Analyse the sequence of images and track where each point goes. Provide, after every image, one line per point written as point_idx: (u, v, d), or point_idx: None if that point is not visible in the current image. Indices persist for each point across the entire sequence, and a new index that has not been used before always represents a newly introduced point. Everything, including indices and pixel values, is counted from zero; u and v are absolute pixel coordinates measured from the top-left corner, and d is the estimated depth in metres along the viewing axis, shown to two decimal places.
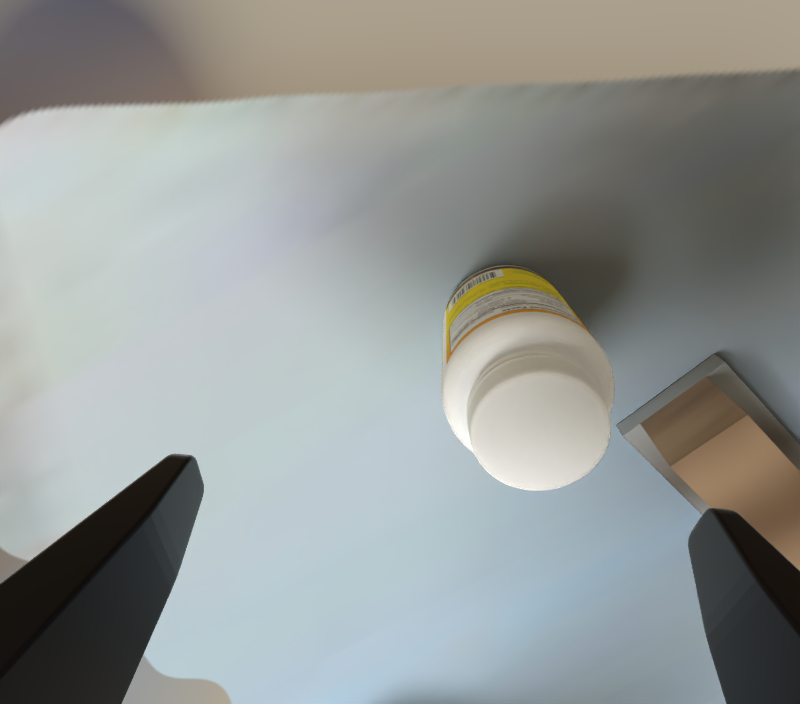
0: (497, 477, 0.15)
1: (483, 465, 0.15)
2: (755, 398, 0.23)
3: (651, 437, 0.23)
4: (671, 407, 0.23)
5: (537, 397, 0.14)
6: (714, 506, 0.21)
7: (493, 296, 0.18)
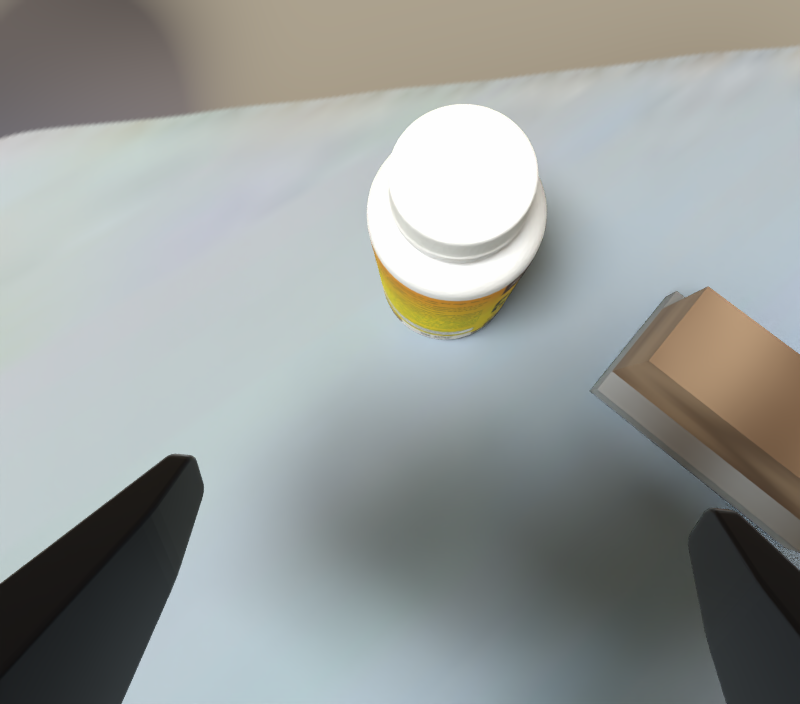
0: (424, 229, 0.13)
1: (407, 216, 0.13)
2: None
3: (625, 366, 0.20)
4: (637, 342, 0.21)
5: (453, 129, 0.13)
6: (718, 410, 0.18)
7: None
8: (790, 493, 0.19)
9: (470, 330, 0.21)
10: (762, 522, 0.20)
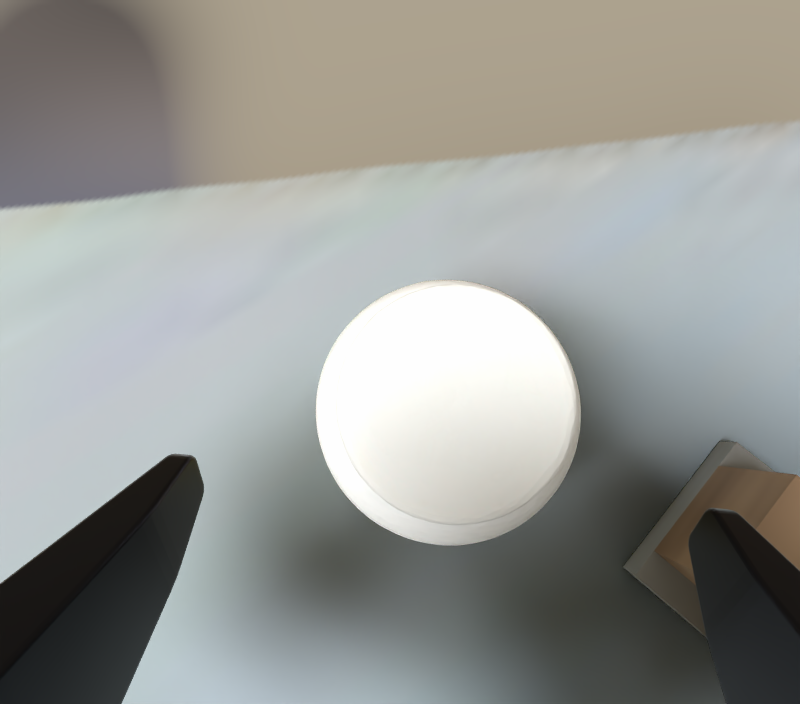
0: (393, 499, 0.08)
1: (364, 475, 0.08)
2: None
3: (675, 558, 0.15)
4: (688, 514, 0.16)
5: (438, 329, 0.08)
6: None
7: None
8: None
9: None
10: None
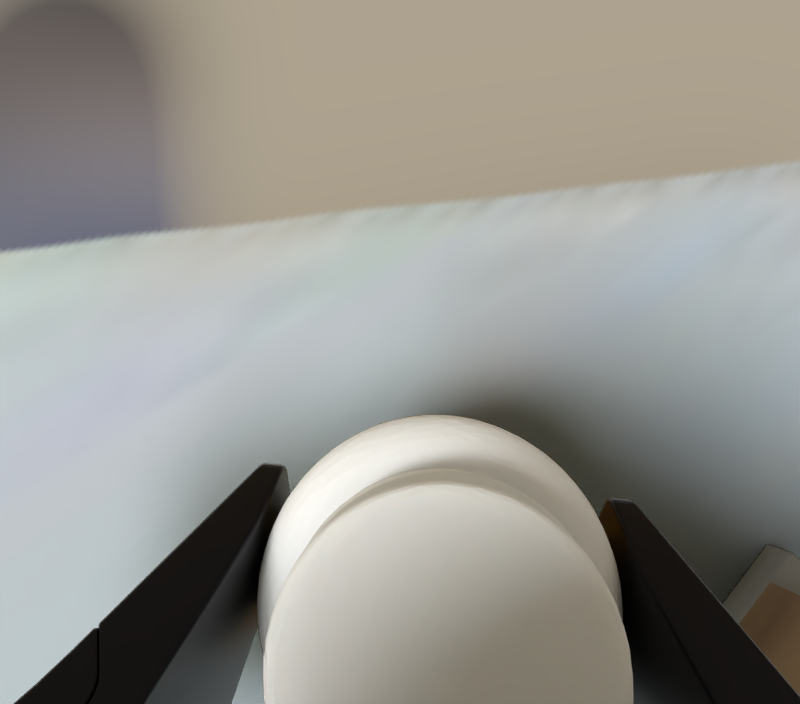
0: None
1: None
2: None
3: None
4: None
5: (421, 558, 0.06)
6: None
7: None
8: None
9: None
10: None
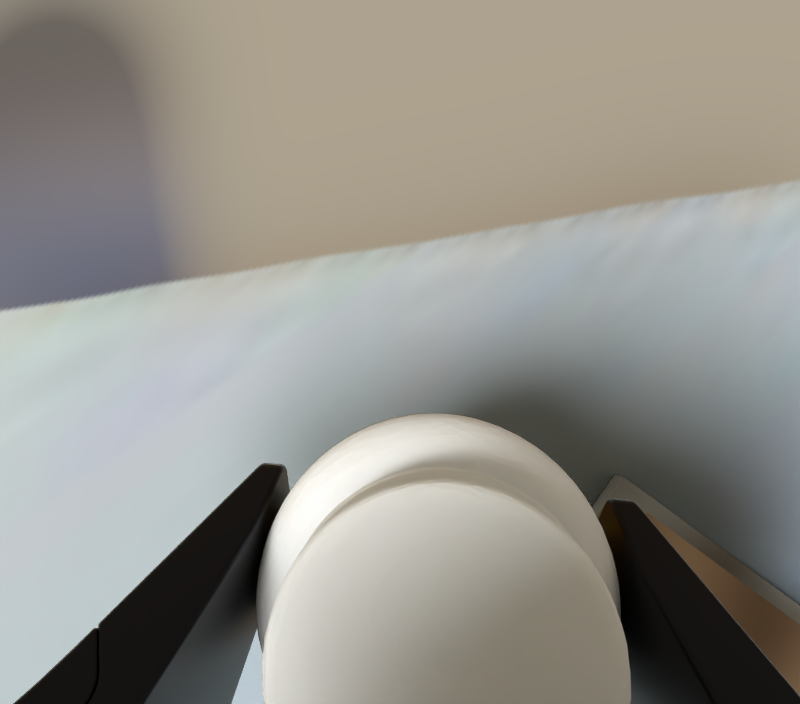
0: None
1: None
2: (673, 516, 0.20)
3: None
4: None
5: (419, 556, 0.06)
6: None
7: None
8: None
9: None
10: None
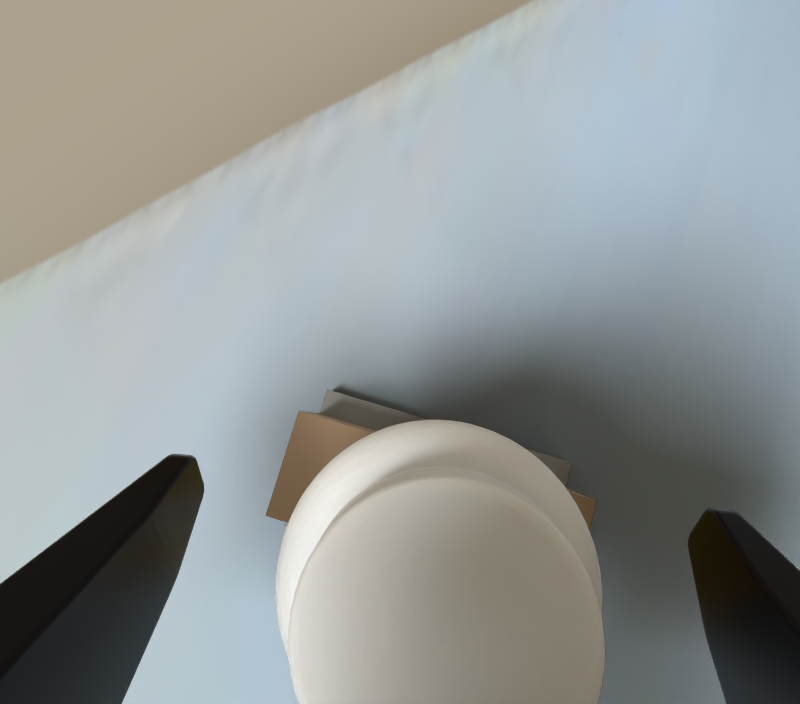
0: None
1: None
2: (383, 408, 0.20)
3: None
4: None
5: (424, 541, 0.06)
6: None
7: None
8: None
9: None
10: None
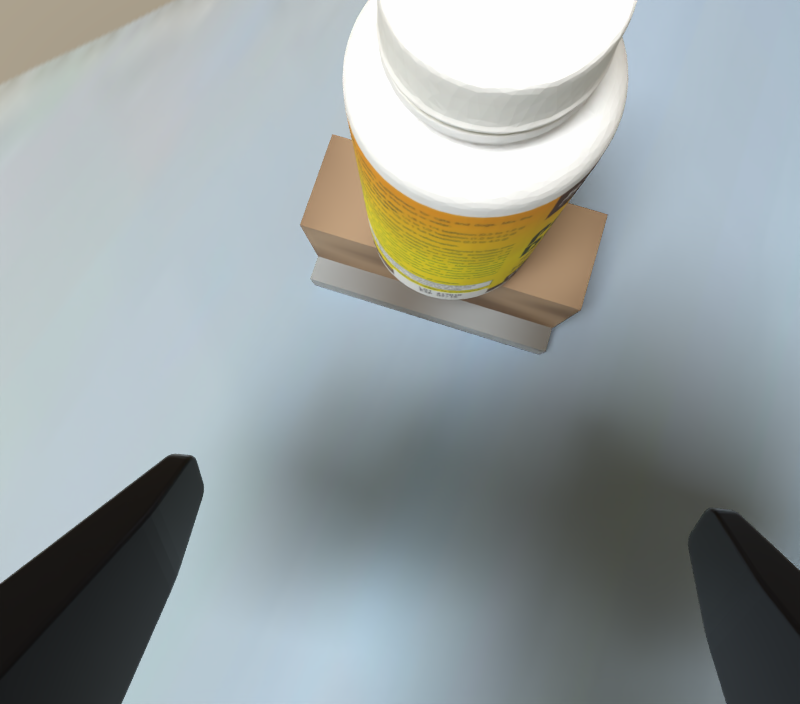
0: (438, 61, 0.07)
1: (407, 38, 0.07)
2: None
3: (312, 244, 0.20)
4: None
5: None
6: None
7: None
8: (494, 298, 0.19)
9: (487, 285, 0.15)
10: (500, 338, 0.21)
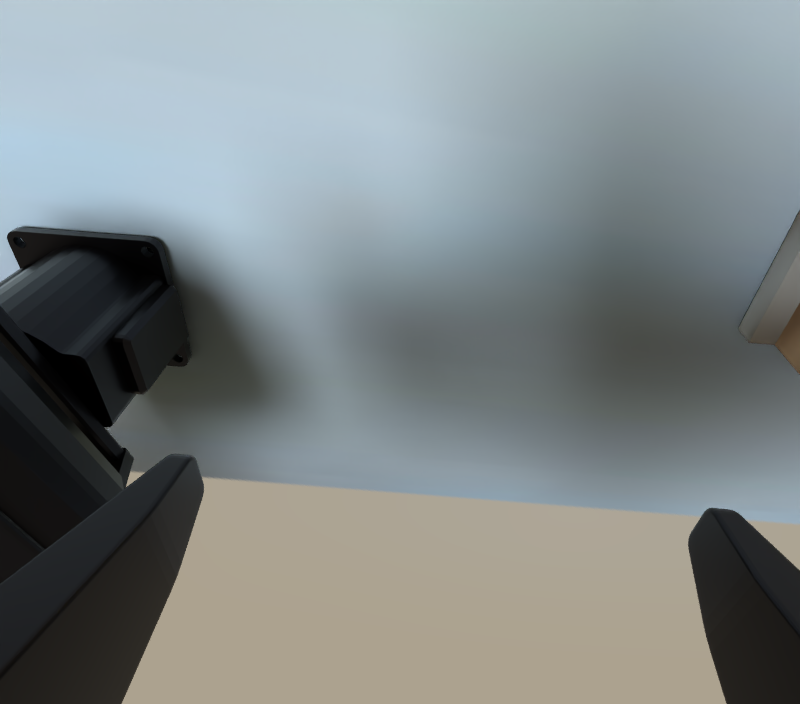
0: None
1: None
2: None
3: None
4: None
5: None
6: None
7: None
8: None
9: None
10: (769, 302, 0.19)
